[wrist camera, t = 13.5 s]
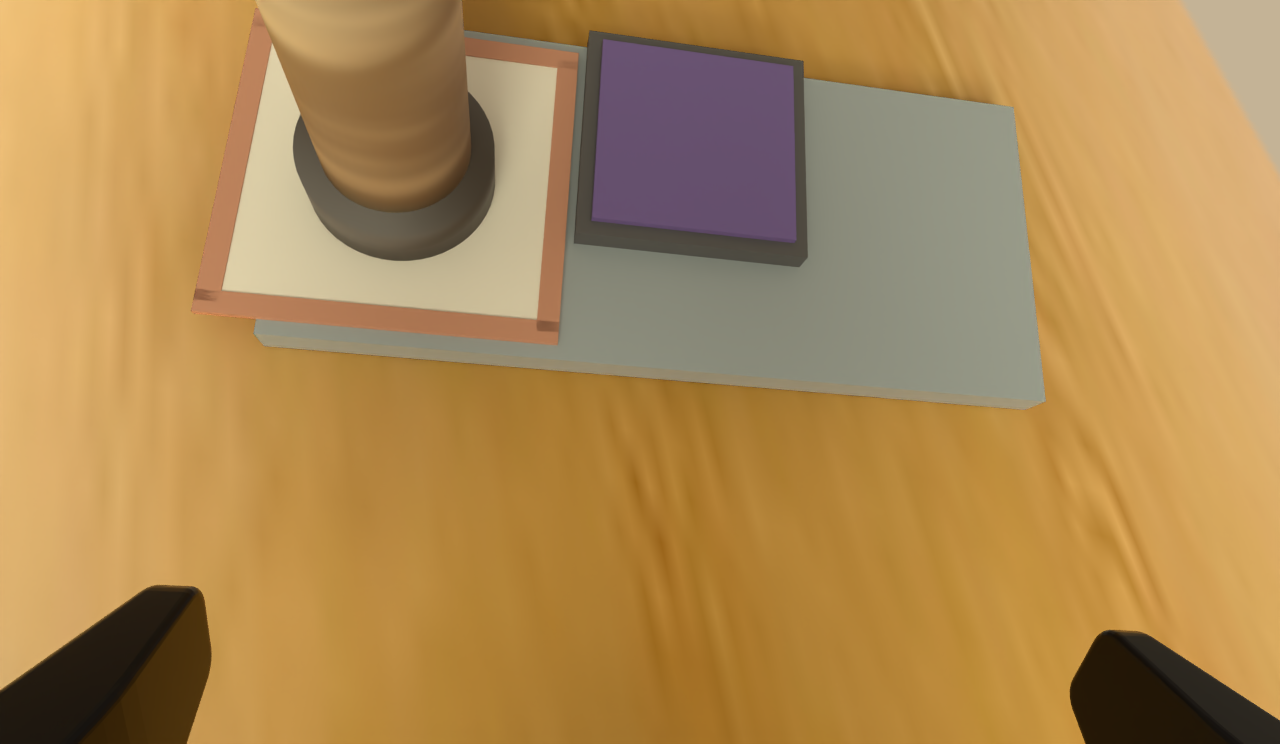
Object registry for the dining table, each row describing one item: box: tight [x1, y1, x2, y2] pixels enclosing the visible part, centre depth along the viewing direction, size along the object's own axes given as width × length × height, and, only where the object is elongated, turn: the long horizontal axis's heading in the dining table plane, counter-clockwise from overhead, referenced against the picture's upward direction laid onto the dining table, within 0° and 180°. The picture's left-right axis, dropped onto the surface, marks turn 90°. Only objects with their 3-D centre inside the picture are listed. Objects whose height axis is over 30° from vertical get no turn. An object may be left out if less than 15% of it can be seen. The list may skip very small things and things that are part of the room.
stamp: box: [255, 0, 495, 261], centre depth 16 cm, size 5×5×13 cm
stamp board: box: [191, 8, 1046, 410], centre depth 24 cm, size 24×10×2 cm, turn 88°
